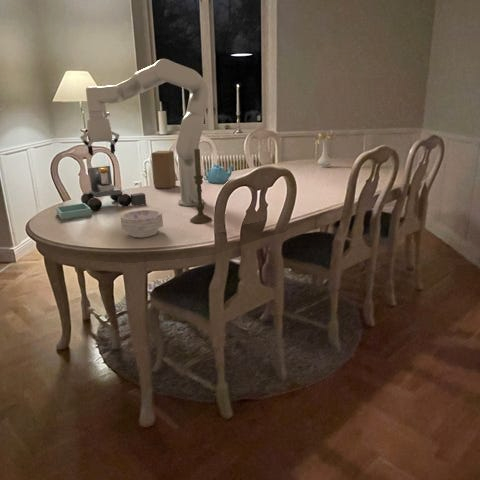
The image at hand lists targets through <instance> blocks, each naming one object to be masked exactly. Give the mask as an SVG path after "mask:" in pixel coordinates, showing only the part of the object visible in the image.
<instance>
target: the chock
mask: <svg viewBox="0 0 480 480" xmlns="http://www.w3.org/2000/svg"><path fill="white" fill-rule="evenodd" d="M129 196H130V197H131V200H132V201H131V204H130V205H132V206H133V205H134V206H133V207H136V206H135V205H138V206H143V205H142V204H144V205H147V202H146V201H147V200H146V194H145V193H144V192H139V193H133V194H130V195H129Z"/></svg>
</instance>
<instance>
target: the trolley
mask: <svg viewBox="0 0 480 480" xmlns="http://www.w3.org/2000/svg"><path fill="white" fill-rule="evenodd" d="M99 168H108V171H107V176H108V184H109V185H107V186H102V182H101V174H100V172H99ZM87 169H88V175H89V176H88V177H89V183H90V188H89V189H88V192H85V193H83V194H82V195H81V198H80V200H81V202H82V203H85V204H86V205H87V206H88V207H90V208H91V212H98V211H100V210H101V208H103V207H102V206H103V203H102V201H101V200H100V198H101V197H110V199H111V200H112V201H114V202H118V204H119V205H120V206H122V207H124V206H126V207H129V206H130V205H132V204H131V201H132V200H131V196H130V195H129V194H127V193H123V192H122V189H120V188H119V187H117V186H115V185H114V184H113V182H112V181H113V179H112V174H111V166H110V165H103V166H94V167H88V168H87Z"/></svg>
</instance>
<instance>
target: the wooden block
mask: <svg viewBox="0 0 480 480" xmlns="http://www.w3.org/2000/svg"><path fill="white" fill-rule="evenodd" d="M150 155H151V156H150V157H151V163H152V167H151V168H152V178H153V186H154V188H155V189H171V188H173V187H175V186H176V184H177V183H176V182H177V181H176V170H175V157H174V156H175V155H174V151H173V150H156V151H153V152H151V154H150Z"/></svg>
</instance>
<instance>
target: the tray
mask: <svg viewBox="0 0 480 480" xmlns="http://www.w3.org/2000/svg"><path fill="white" fill-rule="evenodd" d="M55 210H56V215H57V217H58V218H59V219H60V220H61V221H70V220H76V219H83V218H88V217H92V216H93V215H92V210H91V208H90V207H88V205H86V204H85V203H76V204H70V205H62V206H55Z"/></svg>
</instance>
